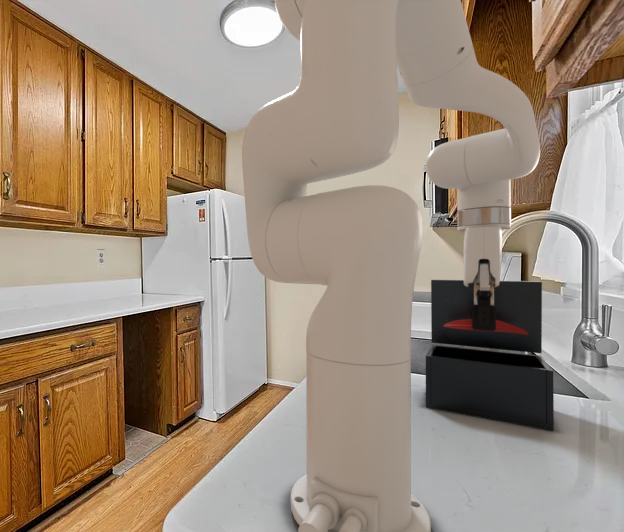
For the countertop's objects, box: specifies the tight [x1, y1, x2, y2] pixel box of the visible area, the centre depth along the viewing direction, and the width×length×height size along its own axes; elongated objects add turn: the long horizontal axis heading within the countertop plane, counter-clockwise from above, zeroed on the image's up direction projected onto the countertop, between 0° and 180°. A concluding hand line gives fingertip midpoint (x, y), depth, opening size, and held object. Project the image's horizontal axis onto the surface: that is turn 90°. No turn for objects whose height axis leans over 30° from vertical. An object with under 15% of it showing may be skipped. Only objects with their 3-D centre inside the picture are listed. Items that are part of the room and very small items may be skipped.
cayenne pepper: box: [444, 319, 528, 335], centre depth 63 cm, size 12×5×2 cm, turn 41°
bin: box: [425, 344, 555, 431], centre depth 64 cm, size 12×17×9 cm
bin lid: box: [430, 279, 543, 354], centre depth 70 cm, size 12×17×6 cm
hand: (483, 327), depth 63 cm, fingers closed on cayenne pepper, 3 cm apart
